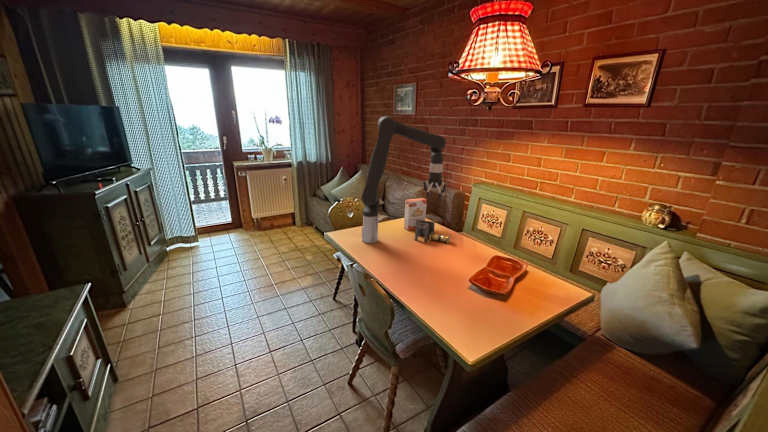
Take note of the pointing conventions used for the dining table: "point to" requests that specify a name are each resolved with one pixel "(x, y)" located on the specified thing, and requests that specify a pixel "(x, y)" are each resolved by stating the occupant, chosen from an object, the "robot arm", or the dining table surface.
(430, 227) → the dark grey legged block
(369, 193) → the robot arm
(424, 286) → the dining table surface
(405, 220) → the cracker box
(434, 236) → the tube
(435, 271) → the dining table surface
